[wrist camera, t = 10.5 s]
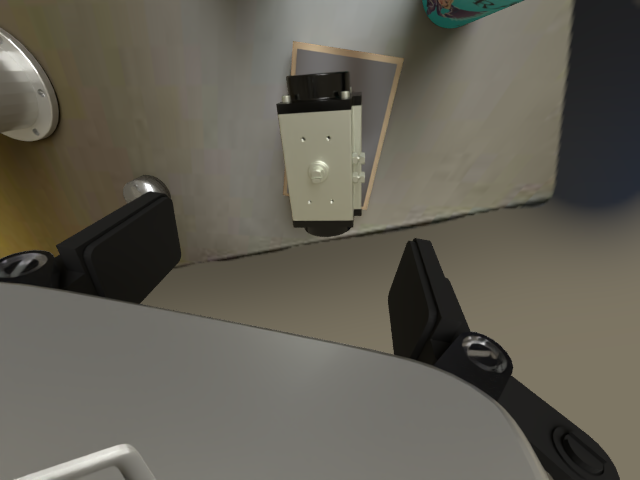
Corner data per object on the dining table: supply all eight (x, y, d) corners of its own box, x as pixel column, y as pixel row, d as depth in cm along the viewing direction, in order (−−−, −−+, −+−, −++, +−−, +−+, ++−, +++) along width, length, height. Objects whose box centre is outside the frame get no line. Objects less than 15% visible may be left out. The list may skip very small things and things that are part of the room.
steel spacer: (140, 205, 40) (128, 212, 38) (132, 171, 38) (118, 178, 36) (173, 211, 40) (163, 219, 38) (168, 178, 37) (156, 184, 35)
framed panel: (288, 185, 36) (282, 196, 33) (299, 43, 28) (292, 40, 25) (366, 199, 35) (366, 211, 32) (400, 59, 27) (404, 58, 24)
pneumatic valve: (315, 192, 32) (292, 250, 22) (304, 73, 26) (266, 78, 16) (363, 191, 31) (364, 251, 21) (364, 68, 25) (365, 69, 15)
